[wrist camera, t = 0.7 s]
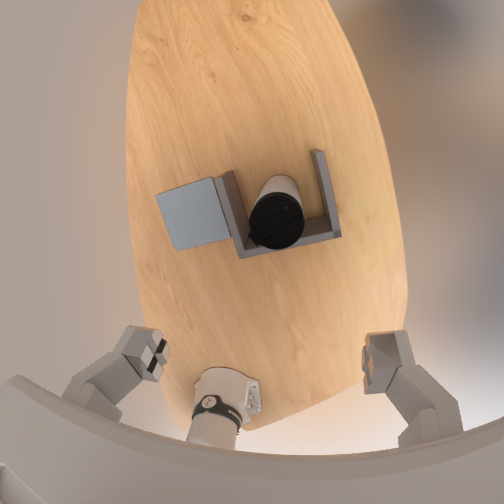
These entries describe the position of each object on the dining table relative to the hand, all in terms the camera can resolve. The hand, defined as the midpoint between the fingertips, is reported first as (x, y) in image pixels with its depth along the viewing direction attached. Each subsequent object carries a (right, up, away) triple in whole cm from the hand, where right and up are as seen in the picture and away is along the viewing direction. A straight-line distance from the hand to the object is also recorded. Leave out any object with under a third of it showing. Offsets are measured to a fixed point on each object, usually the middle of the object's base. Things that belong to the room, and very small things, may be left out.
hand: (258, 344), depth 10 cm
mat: (-12, +10, +42) cm, 44 cm away
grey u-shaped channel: (+5, +14, +38) cm, 41 cm away
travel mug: (+5, +14, +38) cm, 41 cm away
